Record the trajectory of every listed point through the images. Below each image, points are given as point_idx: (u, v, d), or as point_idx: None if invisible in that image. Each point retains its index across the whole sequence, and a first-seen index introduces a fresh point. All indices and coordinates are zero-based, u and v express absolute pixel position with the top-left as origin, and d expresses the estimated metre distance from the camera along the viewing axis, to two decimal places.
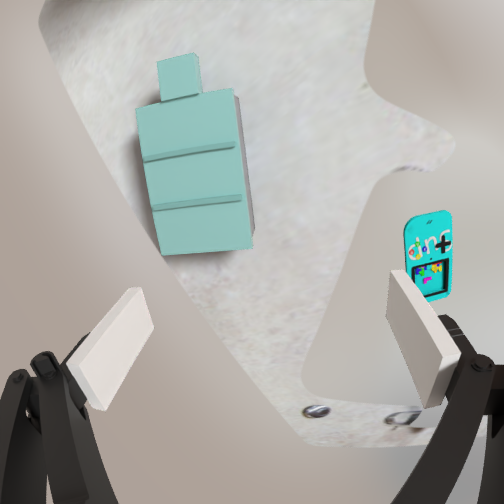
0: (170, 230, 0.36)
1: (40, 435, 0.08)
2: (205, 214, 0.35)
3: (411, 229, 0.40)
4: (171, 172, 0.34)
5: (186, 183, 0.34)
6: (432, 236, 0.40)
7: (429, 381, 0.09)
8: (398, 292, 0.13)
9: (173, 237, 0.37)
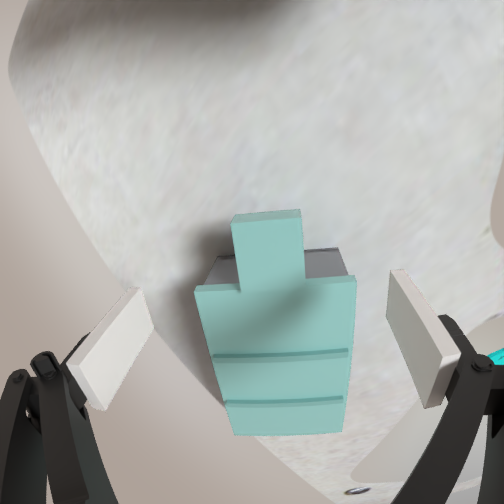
0: (248, 420, 0.27)
1: (40, 435, 0.08)
2: (294, 410, 0.26)
3: None
4: (254, 374, 0.25)
5: (274, 386, 0.25)
6: None
7: (429, 381, 0.09)
8: (398, 292, 0.13)
9: (251, 424, 0.28)
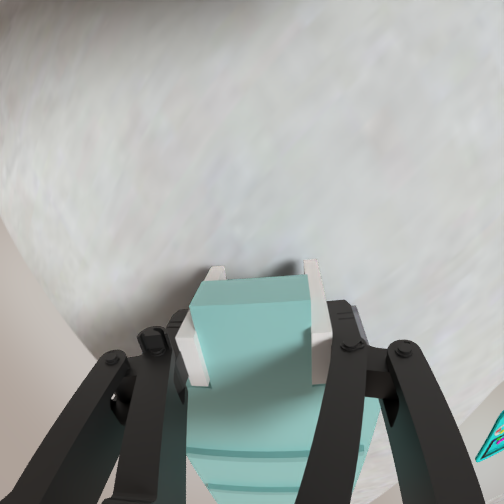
0: (235, 499, 0.19)
1: (120, 425, 0.09)
2: (291, 494, 0.18)
3: None
4: (240, 467, 0.16)
5: (266, 477, 0.17)
6: None
7: None
8: None
9: (239, 502, 0.19)
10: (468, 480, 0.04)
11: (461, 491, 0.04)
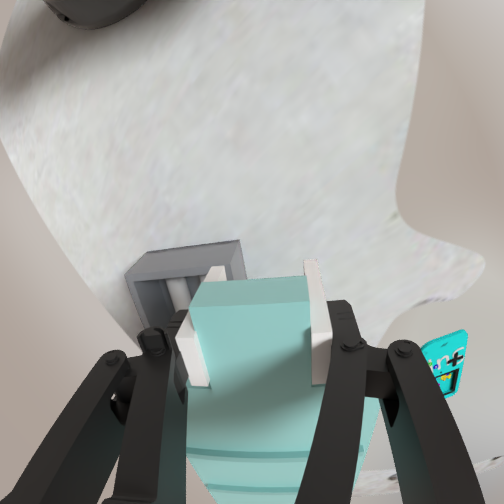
0: (235, 499, 0.19)
1: (120, 425, 0.09)
2: (291, 495, 0.18)
3: (425, 354, 0.36)
4: (239, 467, 0.16)
5: (265, 477, 0.17)
6: (445, 355, 0.36)
7: (312, 357, 0.11)
8: None
9: (239, 502, 0.19)
10: (468, 480, 0.04)
11: (461, 491, 0.04)
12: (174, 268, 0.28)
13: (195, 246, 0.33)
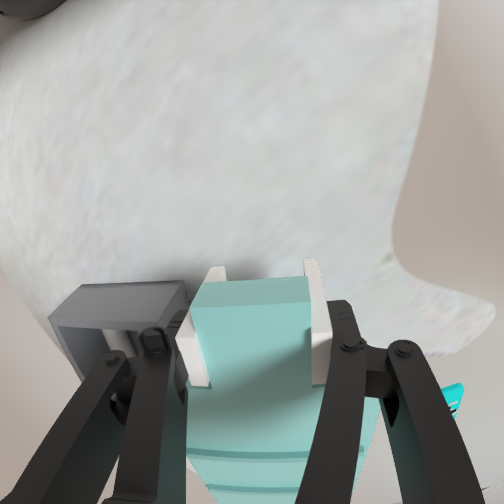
0: (235, 499, 0.19)
1: (120, 425, 0.09)
2: (291, 495, 0.18)
3: None
4: (240, 468, 0.16)
5: (266, 477, 0.17)
6: None
7: None
8: None
9: (239, 503, 0.19)
10: (468, 480, 0.04)
11: (461, 491, 0.04)
12: (96, 317, 0.21)
13: (131, 285, 0.25)
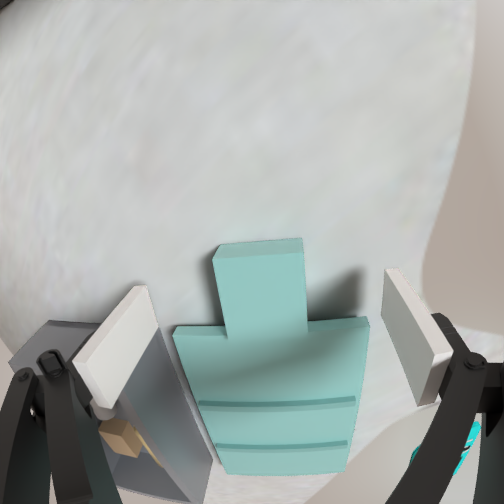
0: (241, 461, 0.23)
1: (44, 434, 0.08)
2: (293, 454, 0.22)
3: None
4: (246, 421, 0.20)
5: (270, 432, 0.21)
6: None
7: (422, 379, 0.09)
8: (392, 290, 0.13)
9: (244, 466, 0.23)
10: None
11: None
12: None
13: None
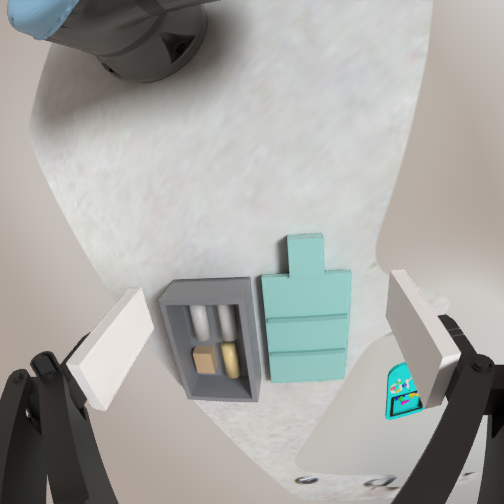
0: (282, 368, 0.44)
1: (40, 435, 0.08)
2: (314, 359, 0.43)
3: (395, 374, 0.44)
4: (291, 331, 0.42)
5: (302, 339, 0.42)
6: None
7: (429, 381, 0.09)
8: (398, 292, 0.13)
9: (284, 372, 0.44)
10: None
11: None
12: (200, 298, 0.37)
13: (214, 279, 0.41)
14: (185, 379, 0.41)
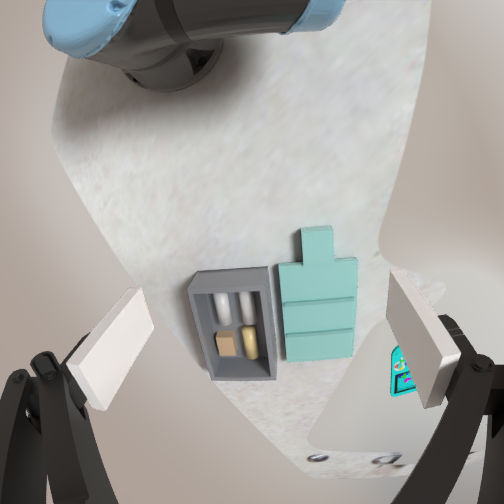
0: (297, 348, 0.49)
1: (40, 435, 0.08)
2: (325, 339, 0.48)
3: (398, 353, 0.50)
4: (304, 313, 0.47)
5: (315, 321, 0.47)
6: None
7: (429, 381, 0.09)
8: (398, 292, 0.13)
9: (298, 352, 0.50)
10: None
11: None
12: (225, 286, 0.42)
13: (235, 269, 0.46)
14: (209, 361, 0.47)
